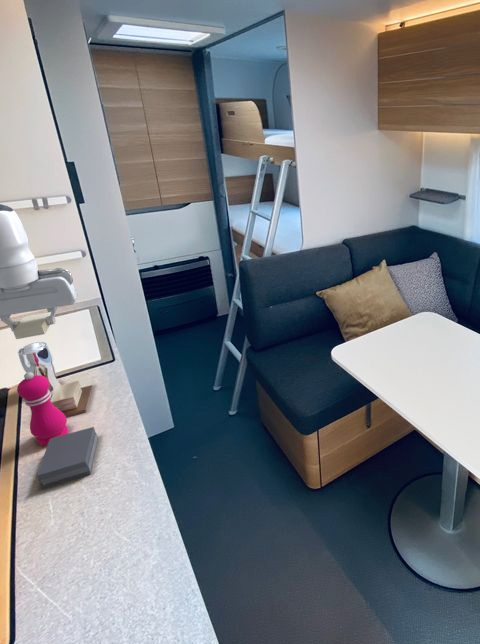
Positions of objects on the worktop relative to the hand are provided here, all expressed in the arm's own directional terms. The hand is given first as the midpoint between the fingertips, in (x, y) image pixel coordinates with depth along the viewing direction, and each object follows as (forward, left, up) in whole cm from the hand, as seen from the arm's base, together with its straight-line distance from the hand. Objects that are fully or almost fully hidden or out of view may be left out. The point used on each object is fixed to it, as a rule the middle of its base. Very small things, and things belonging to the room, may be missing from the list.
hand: (34, 326), depth 99 cm
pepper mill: (-2, -6, -29) cm, 30 cm away
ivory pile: (-1, +7, -29) cm, 30 cm away
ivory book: (0, 0, -1) cm, 1 cm away
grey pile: (+4, -18, -29) cm, 34 cm away
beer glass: (-8, +18, -29) cm, 35 cm away
